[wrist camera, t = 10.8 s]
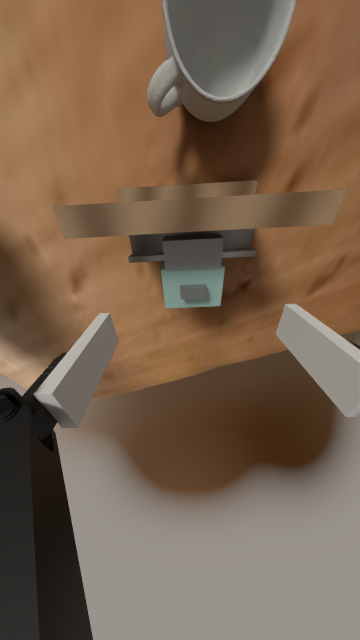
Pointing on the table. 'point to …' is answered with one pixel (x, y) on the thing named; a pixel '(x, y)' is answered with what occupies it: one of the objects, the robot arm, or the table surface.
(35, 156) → the table surface
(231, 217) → the wall board
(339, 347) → the robot arm
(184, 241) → the cabinet
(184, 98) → the teacup
